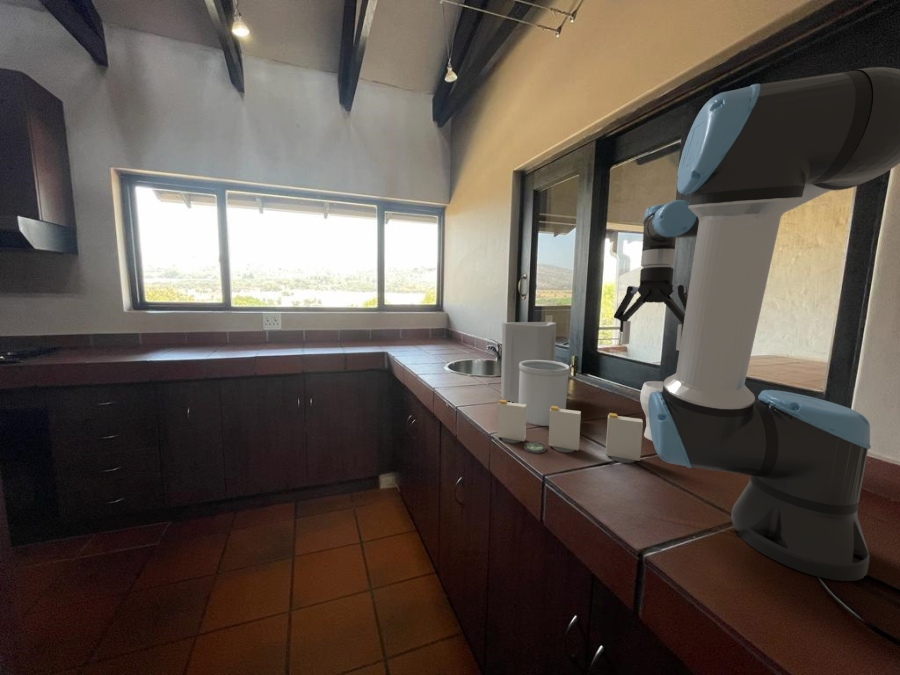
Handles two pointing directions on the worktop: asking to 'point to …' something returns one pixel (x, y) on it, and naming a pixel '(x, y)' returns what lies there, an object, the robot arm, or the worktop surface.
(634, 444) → the slab with yellow pad
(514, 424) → the cream slab
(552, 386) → the utensil holder
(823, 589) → the worktop surface
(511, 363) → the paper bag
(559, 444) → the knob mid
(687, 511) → the worktop surface
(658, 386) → the cup
